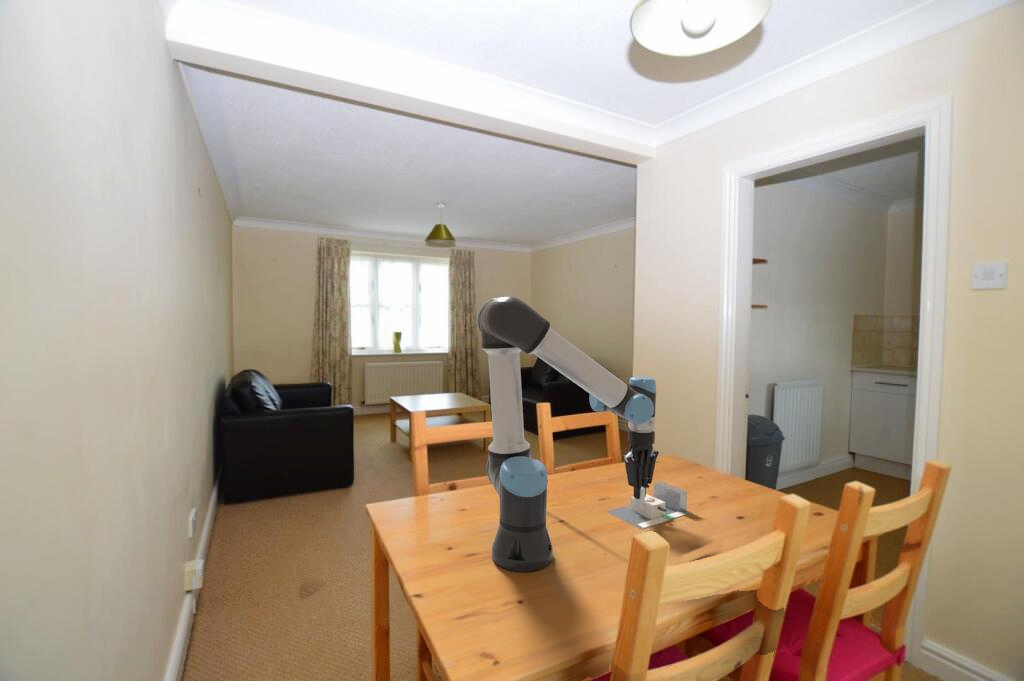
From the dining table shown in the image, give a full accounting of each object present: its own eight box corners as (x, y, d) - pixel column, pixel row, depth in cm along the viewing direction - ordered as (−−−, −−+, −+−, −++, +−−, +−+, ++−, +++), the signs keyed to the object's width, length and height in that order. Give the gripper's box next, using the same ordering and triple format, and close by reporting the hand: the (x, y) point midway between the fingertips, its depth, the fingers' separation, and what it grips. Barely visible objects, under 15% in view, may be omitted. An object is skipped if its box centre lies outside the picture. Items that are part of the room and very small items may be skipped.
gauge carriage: (658, 523, 133) (658, 508, 133) (630, 509, 142) (630, 496, 142) (672, 518, 136) (672, 504, 136) (644, 505, 145) (644, 492, 145)
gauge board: (641, 533, 129) (641, 528, 129) (606, 515, 141) (606, 510, 141) (692, 516, 141) (692, 511, 140) (655, 500, 152) (655, 496, 152)
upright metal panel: (679, 512, 140) (680, 493, 140) (653, 501, 149) (654, 482, 149) (686, 510, 142) (687, 491, 142) (660, 499, 151) (660, 481, 150)
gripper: (635, 435, 130) (633, 518, 131) (666, 429, 137) (664, 508, 138) (616, 429, 136) (614, 508, 138) (646, 424, 143) (644, 499, 145)
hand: (639, 508), depth 138 cm, fingers closed
